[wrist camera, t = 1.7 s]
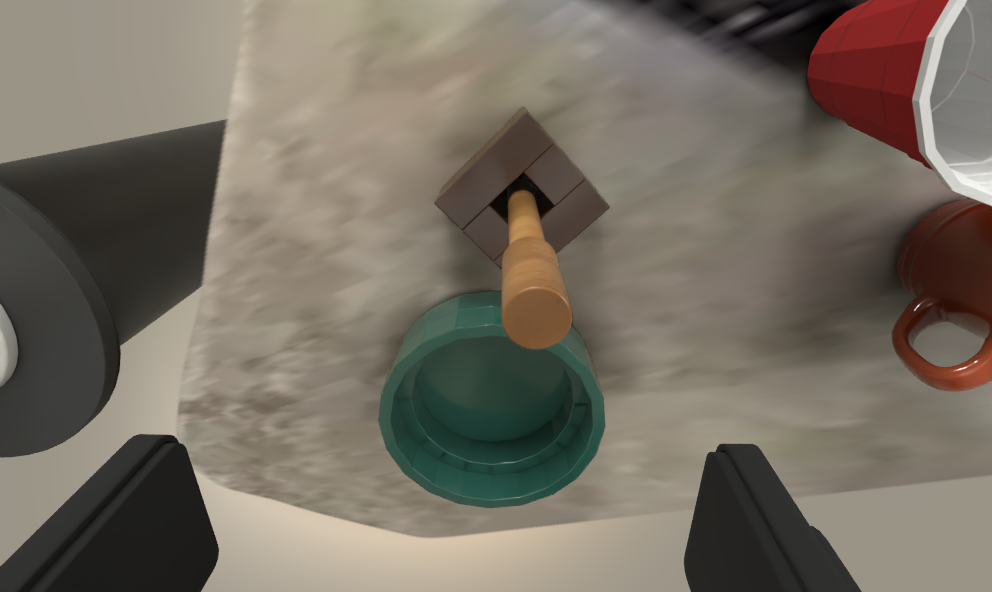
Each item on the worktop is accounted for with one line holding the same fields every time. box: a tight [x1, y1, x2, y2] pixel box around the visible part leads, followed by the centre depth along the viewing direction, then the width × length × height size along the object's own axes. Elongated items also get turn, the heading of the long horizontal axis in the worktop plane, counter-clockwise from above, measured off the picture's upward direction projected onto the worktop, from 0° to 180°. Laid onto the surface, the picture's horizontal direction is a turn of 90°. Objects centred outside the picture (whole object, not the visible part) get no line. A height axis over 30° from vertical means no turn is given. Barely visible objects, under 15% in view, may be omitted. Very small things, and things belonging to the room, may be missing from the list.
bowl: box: [378, 291, 605, 508], centre depth 35 cm, size 15×15×6 cm
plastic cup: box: [807, 0, 992, 206], centre depth 23 cm, size 11×11×12 cm
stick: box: [501, 179, 572, 350], centre depth 24 cm, size 2×2×18 cm
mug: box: [892, 199, 992, 391], centre depth 29 cm, size 12×9×10 cm
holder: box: [435, 107, 610, 269], centre depth 30 cm, size 7×7×4 cm
